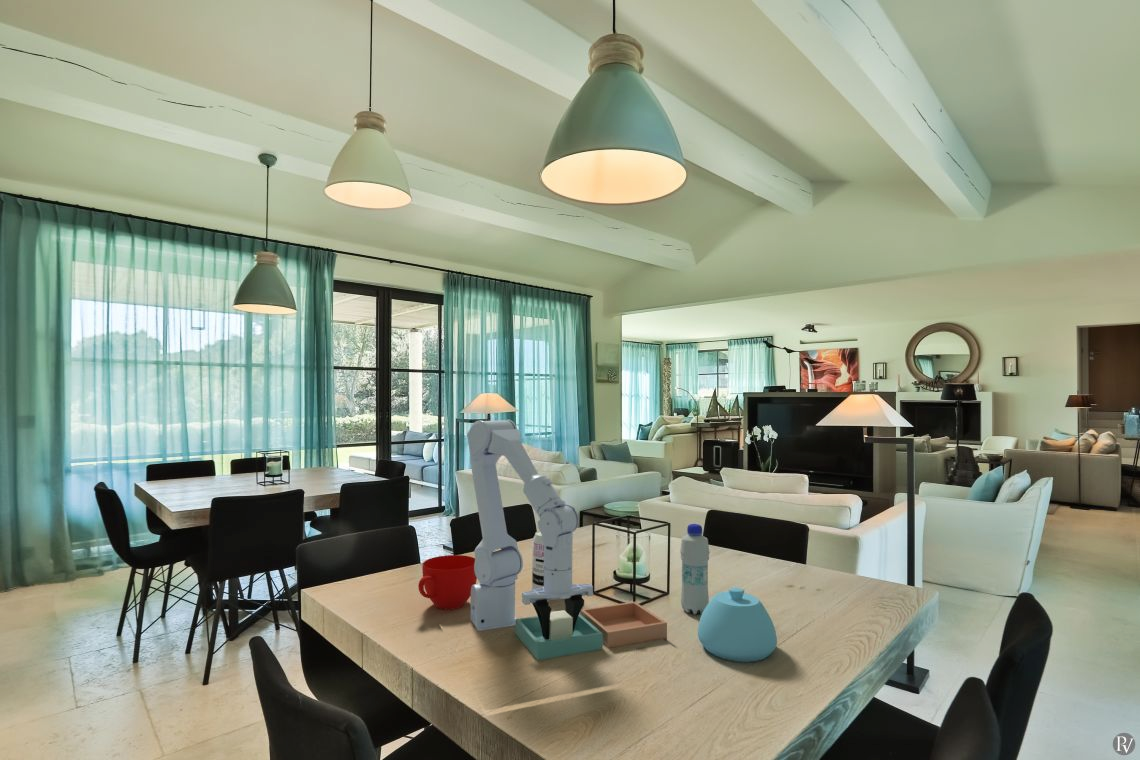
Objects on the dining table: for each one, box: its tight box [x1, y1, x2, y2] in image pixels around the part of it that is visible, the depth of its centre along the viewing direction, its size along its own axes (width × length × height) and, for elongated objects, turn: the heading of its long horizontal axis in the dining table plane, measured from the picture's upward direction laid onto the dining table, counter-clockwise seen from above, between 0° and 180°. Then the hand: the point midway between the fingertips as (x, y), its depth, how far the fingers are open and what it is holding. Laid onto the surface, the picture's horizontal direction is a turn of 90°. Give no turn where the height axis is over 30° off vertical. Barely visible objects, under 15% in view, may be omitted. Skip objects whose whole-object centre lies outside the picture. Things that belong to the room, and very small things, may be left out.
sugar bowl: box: [697, 586, 778, 663], centre depth 117 cm, size 15×15×12 cm
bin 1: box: [515, 613, 604, 661], centre depth 118 cm, size 13×13×4 cm
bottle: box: [679, 523, 710, 615], centre depth 137 cm, size 7×7×20 cm
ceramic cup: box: [418, 554, 478, 610], centre depth 138 cm, size 13×17×10 cm
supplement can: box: [531, 530, 544, 590], centre depth 148 cm, size 8×8×15 cm
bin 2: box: [579, 601, 668, 649], centre depth 124 cm, size 13×13×4 cm
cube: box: [543, 609, 573, 641], centre depth 118 cm, size 4×4×5 cm
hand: (557, 635), depth 118 cm, fingers closed on cube, 4 cm apart
